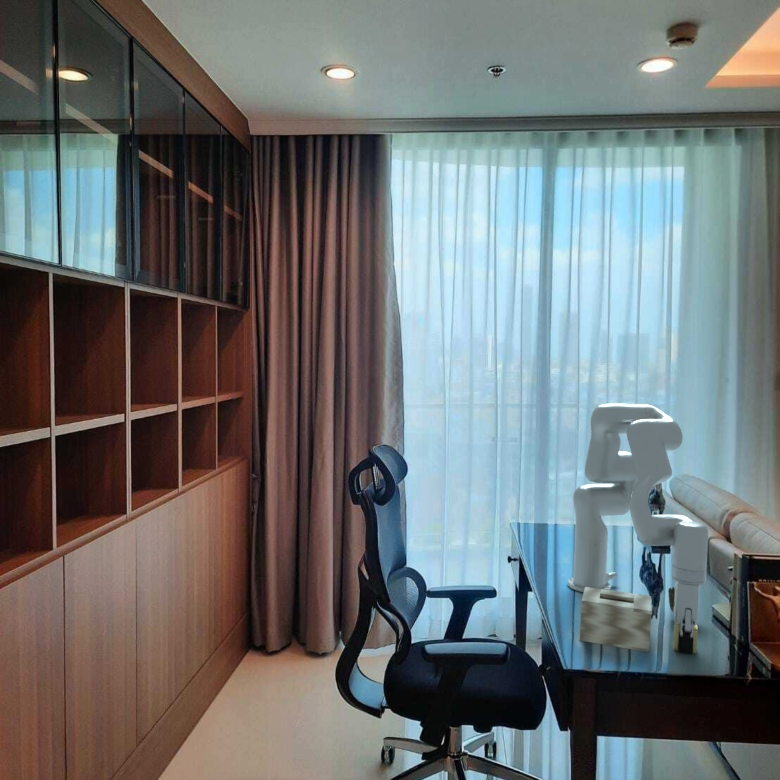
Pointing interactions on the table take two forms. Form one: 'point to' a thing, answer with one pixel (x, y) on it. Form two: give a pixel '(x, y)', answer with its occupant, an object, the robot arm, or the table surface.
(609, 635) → the box
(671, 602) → the cup
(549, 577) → the table surface
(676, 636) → the yellow flat block
